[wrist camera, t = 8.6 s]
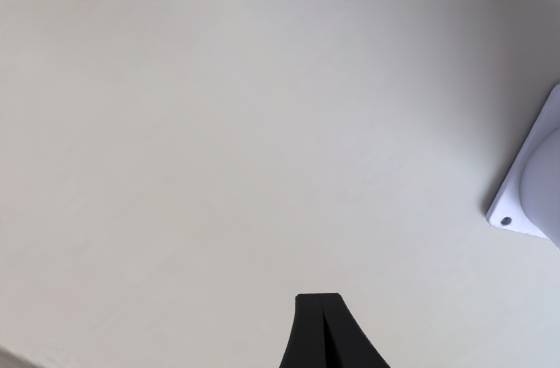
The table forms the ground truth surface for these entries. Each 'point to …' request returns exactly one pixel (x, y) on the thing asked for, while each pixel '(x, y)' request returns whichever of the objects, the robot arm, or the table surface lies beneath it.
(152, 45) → the table surface
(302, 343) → the robot arm
